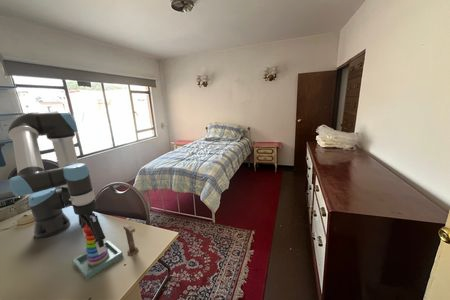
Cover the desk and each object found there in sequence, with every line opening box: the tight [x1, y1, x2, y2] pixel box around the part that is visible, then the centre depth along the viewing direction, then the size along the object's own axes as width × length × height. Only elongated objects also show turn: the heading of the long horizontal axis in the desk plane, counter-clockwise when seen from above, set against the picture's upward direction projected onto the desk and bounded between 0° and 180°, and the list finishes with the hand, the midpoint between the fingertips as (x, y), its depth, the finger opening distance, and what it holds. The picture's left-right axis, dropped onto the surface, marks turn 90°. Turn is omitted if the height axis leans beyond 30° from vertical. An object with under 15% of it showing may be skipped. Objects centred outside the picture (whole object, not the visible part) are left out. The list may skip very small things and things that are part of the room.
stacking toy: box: [82, 225, 109, 266], centre depth 81 cm, size 8×8×19 cm
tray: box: [72, 239, 124, 281], centre depth 83 cm, size 14×14×2 cm
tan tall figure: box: [123, 223, 139, 256], centre depth 85 cm, size 6×4×14 cm
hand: (95, 245), depth 81 cm, fingers open, 13 cm apart
